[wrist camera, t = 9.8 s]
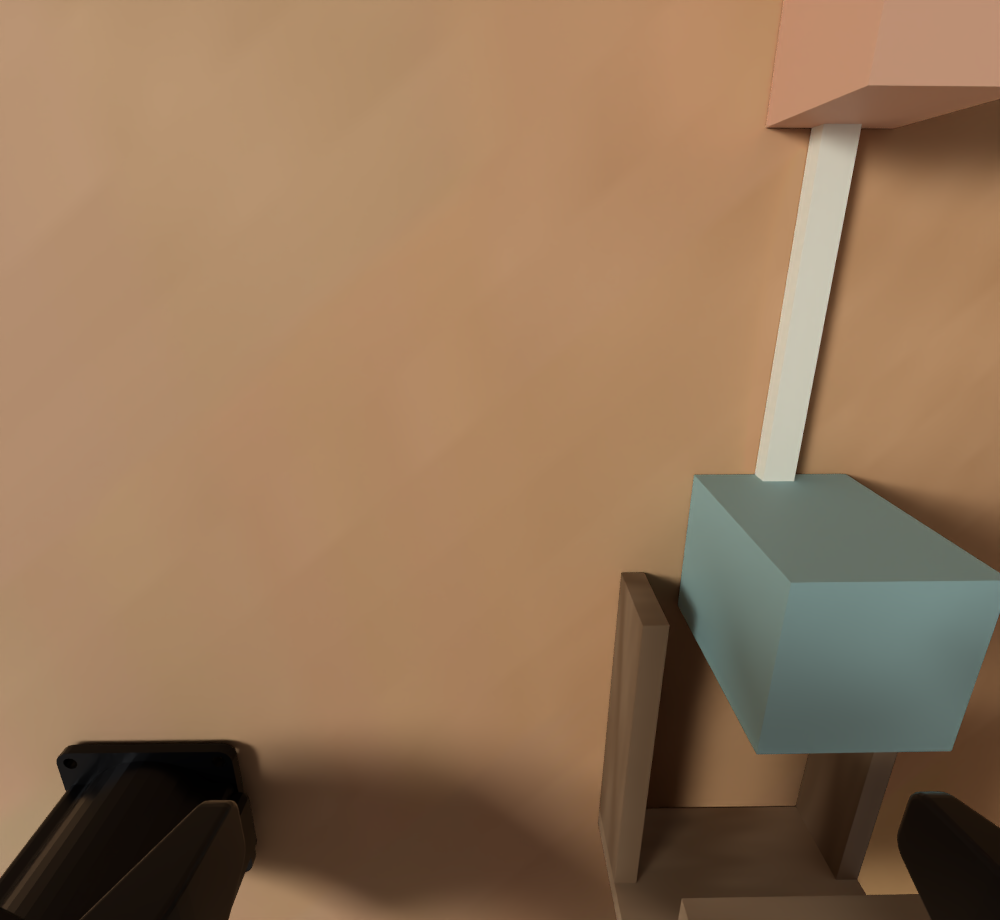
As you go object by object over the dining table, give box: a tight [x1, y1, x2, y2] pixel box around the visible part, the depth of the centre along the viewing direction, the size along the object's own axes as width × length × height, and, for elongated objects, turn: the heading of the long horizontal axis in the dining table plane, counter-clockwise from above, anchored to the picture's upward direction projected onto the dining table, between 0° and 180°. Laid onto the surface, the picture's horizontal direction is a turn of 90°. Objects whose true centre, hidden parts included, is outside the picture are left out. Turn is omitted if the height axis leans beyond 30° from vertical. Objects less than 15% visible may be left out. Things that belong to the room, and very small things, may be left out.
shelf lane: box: [598, 573, 931, 920], centre depth 18 cm, size 9×12×9 cm
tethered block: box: [678, 0, 1000, 754], centre depth 15 cm, size 5×18×6 cm, turn 0°
